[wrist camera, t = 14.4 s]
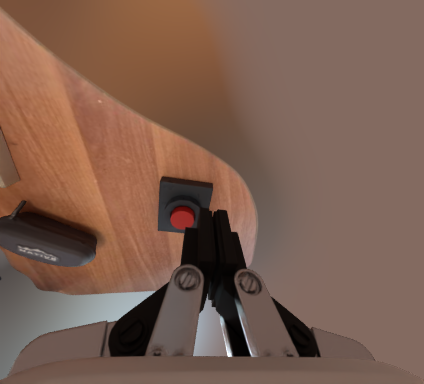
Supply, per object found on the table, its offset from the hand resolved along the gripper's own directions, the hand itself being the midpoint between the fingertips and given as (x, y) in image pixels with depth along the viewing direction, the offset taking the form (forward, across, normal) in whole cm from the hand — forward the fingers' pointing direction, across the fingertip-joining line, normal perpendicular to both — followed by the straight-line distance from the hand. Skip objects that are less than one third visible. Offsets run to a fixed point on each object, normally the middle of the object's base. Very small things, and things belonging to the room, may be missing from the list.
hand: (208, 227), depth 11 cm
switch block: (+23, +2, +14) cm, 27 cm away
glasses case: (+23, +28, +24) cm, 44 cm away
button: (+20, +2, +14) cm, 24 cm away
